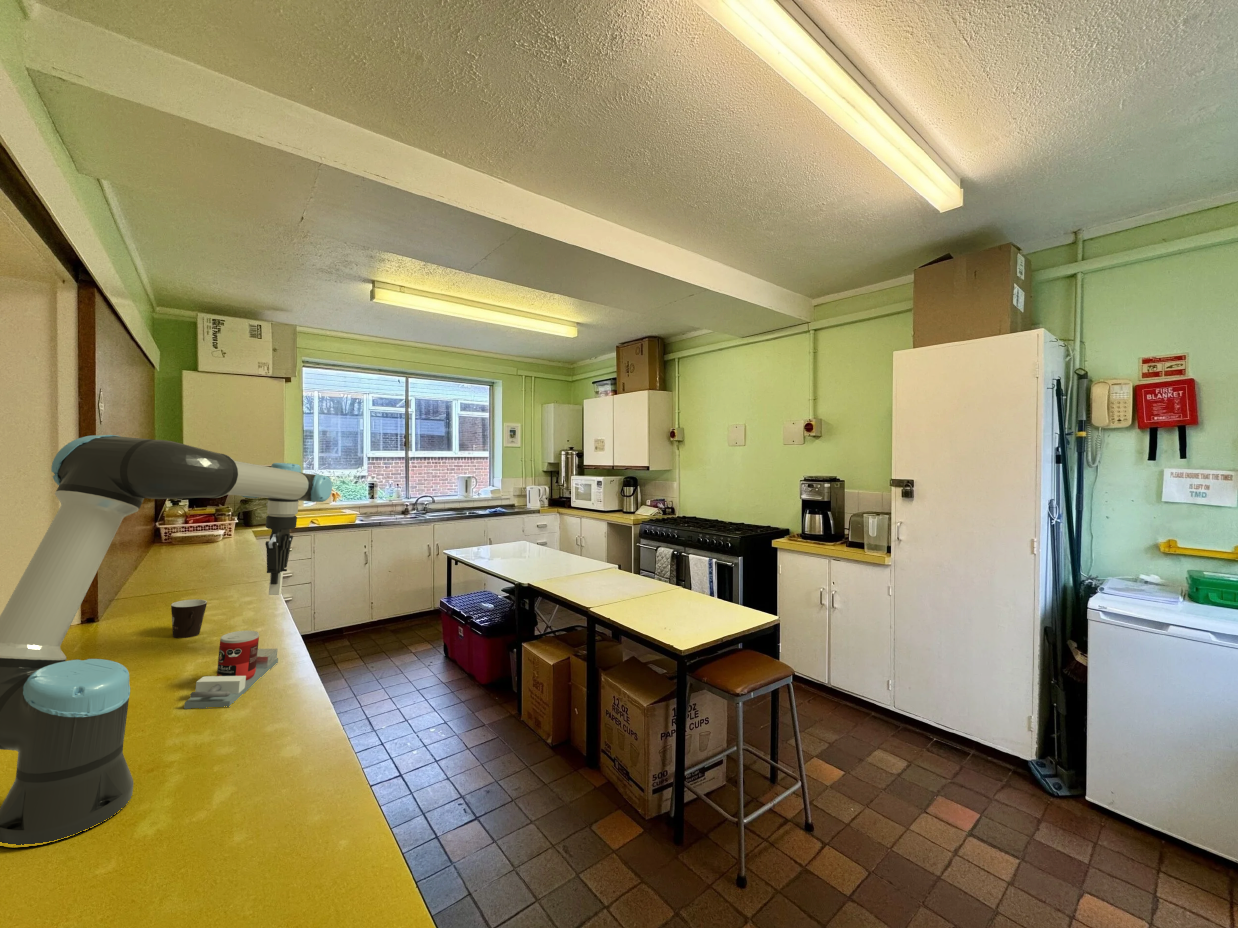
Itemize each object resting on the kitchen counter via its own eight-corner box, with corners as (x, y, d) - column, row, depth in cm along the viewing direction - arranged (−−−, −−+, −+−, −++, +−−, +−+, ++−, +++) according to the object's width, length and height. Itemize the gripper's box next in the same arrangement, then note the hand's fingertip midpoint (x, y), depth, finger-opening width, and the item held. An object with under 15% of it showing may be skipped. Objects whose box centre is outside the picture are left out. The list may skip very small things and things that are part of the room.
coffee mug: (174, 630, 157) (177, 599, 157) (208, 629, 160) (211, 598, 161) (158, 643, 146) (162, 610, 146) (195, 641, 150) (198, 609, 150)
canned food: (210, 678, 125) (214, 635, 125) (245, 668, 132) (249, 628, 132) (225, 687, 121) (229, 642, 121) (261, 676, 128) (265, 634, 128)
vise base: (228, 707, 115) (230, 688, 115) (183, 708, 113) (185, 689, 113) (277, 663, 140) (279, 647, 140) (241, 663, 138) (243, 647, 138)
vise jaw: (267, 667, 133) (268, 656, 133) (228, 668, 131) (229, 656, 131) (276, 659, 139) (277, 648, 139) (240, 659, 137) (241, 648, 137)
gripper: (277, 511, 150) (270, 588, 150) (257, 516, 138) (249, 600, 138) (304, 513, 152) (297, 588, 152) (287, 518, 140) (279, 600, 139)
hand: (274, 594), depth 145 cm, fingers closed
